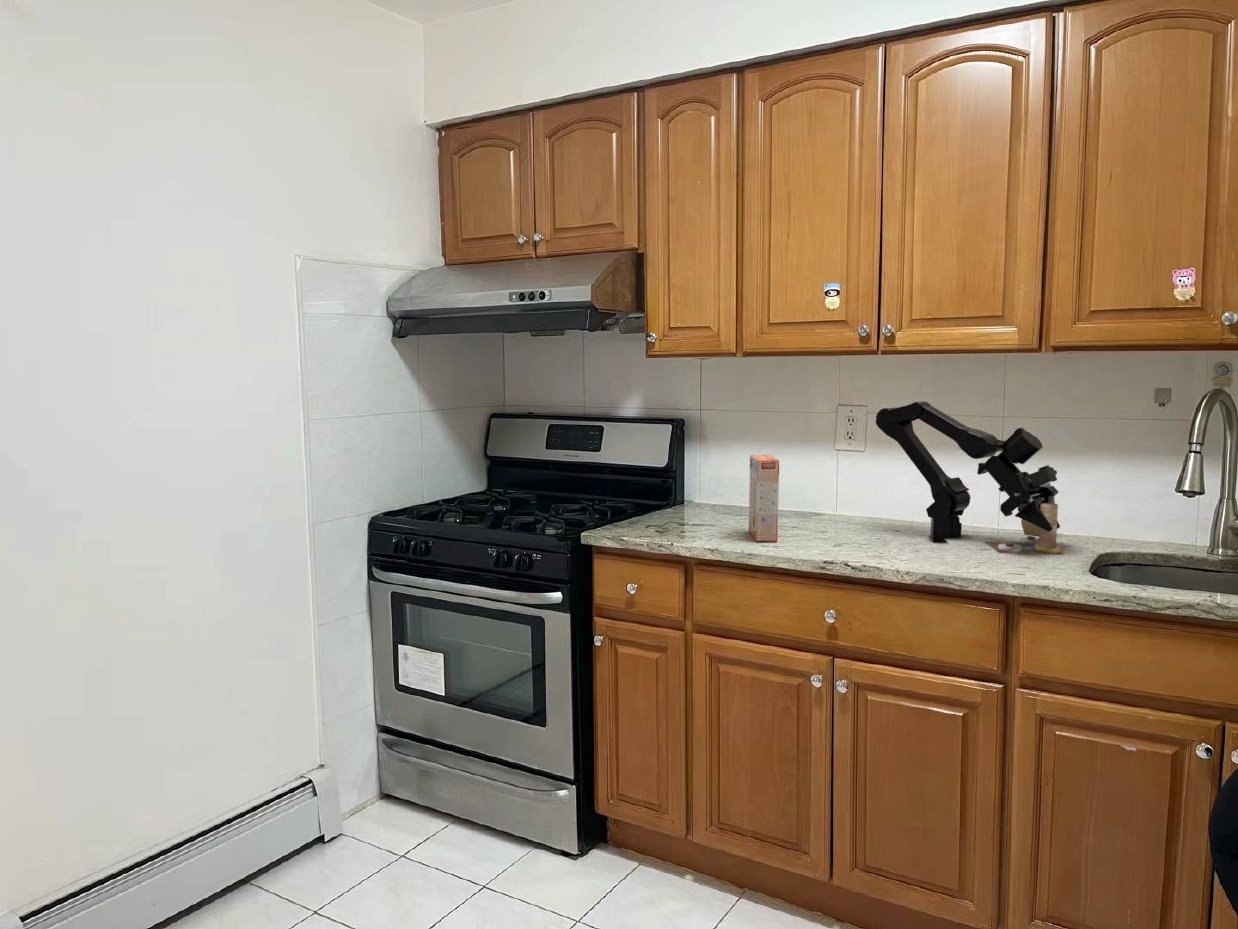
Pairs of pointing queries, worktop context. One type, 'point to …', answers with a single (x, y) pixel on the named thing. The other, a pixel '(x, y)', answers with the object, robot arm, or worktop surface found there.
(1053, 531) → the gear spindle
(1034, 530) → the squeeze bottle
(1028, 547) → the gear board
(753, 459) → the cracker box
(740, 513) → the worktop surface
